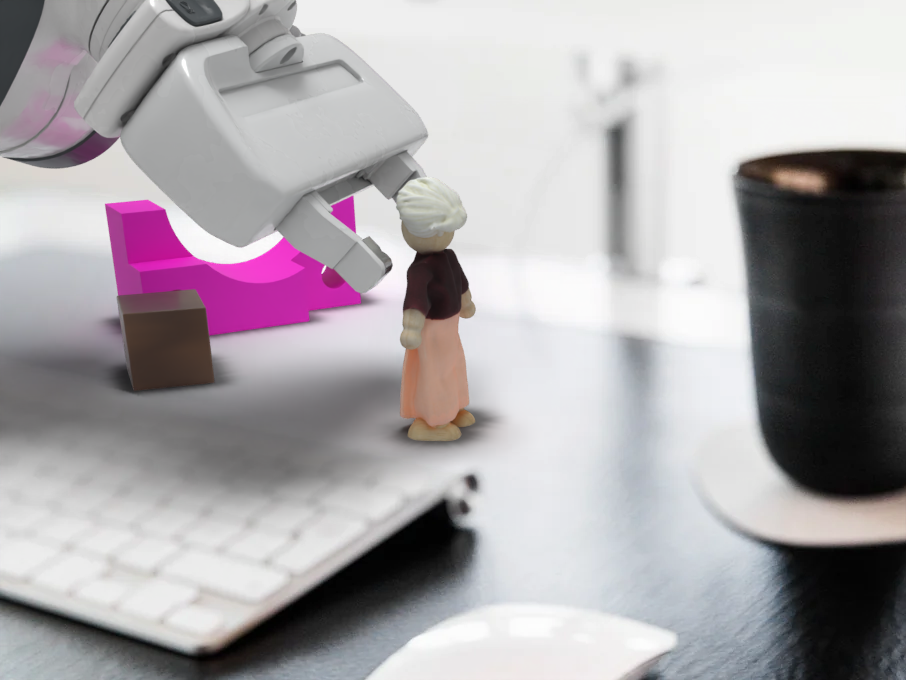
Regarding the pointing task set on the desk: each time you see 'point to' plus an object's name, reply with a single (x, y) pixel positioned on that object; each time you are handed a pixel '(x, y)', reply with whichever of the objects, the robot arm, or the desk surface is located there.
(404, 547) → the desk surface
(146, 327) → the walnut cube
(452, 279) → the grandmother figurine
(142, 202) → the toy block
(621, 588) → the desk surface
